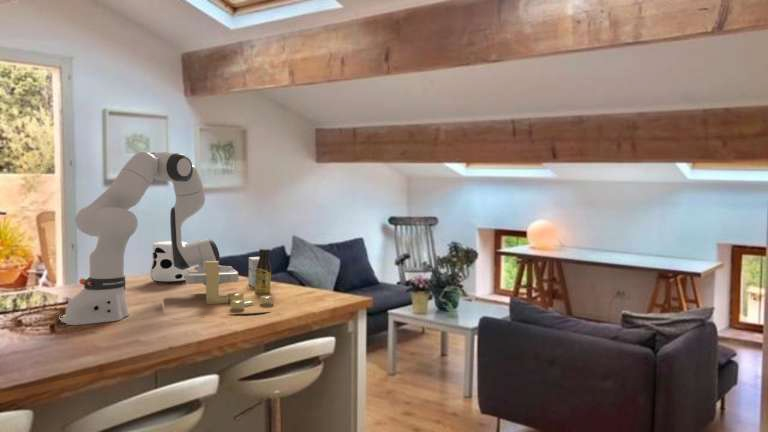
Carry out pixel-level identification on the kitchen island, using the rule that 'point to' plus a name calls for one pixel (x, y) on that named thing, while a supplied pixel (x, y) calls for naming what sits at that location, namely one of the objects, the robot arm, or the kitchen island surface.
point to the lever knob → (217, 286)
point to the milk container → (165, 265)
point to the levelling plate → (239, 305)
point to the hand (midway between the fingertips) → (213, 280)
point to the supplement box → (252, 270)
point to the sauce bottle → (263, 273)
